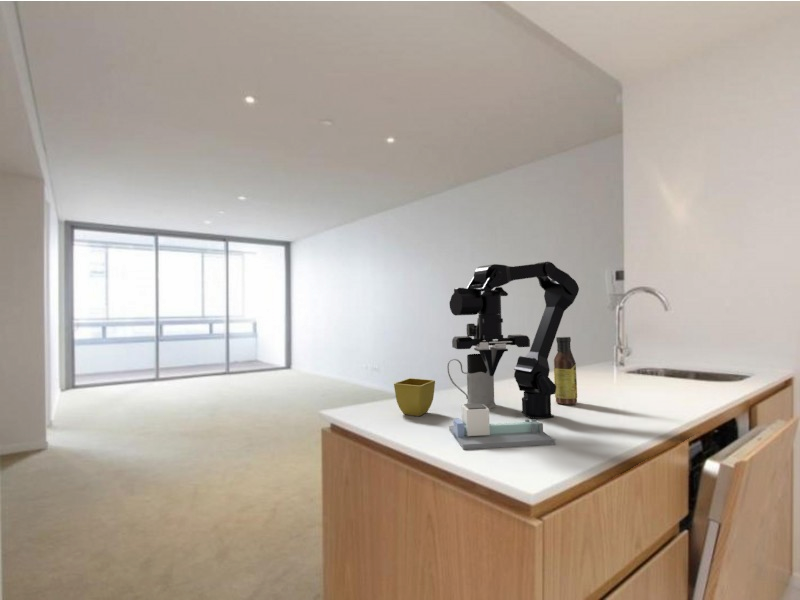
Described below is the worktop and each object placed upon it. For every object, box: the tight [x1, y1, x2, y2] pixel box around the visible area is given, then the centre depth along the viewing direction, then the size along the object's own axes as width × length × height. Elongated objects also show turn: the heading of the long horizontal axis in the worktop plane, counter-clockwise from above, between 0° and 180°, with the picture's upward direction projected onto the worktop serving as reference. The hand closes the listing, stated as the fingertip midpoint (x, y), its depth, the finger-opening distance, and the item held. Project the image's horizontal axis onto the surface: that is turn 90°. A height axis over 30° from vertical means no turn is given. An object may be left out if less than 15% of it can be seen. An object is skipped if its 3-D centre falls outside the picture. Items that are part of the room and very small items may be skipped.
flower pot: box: [393, 377, 436, 417], centre depth 120 cm, size 9×9×9 cm
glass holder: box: [447, 353, 497, 410], centre depth 129 cm, size 9×14×15 cm, turn 74°
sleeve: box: [461, 403, 490, 436], centre depth 97 cm, size 5×5×6 cm
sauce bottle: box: [553, 336, 578, 406], centre depth 129 cm, size 6×6×20 cm
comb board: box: [448, 418, 556, 450], centre depth 98 cm, size 20×14×4 cm
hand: (491, 375), depth 109 cm, fingers closed
